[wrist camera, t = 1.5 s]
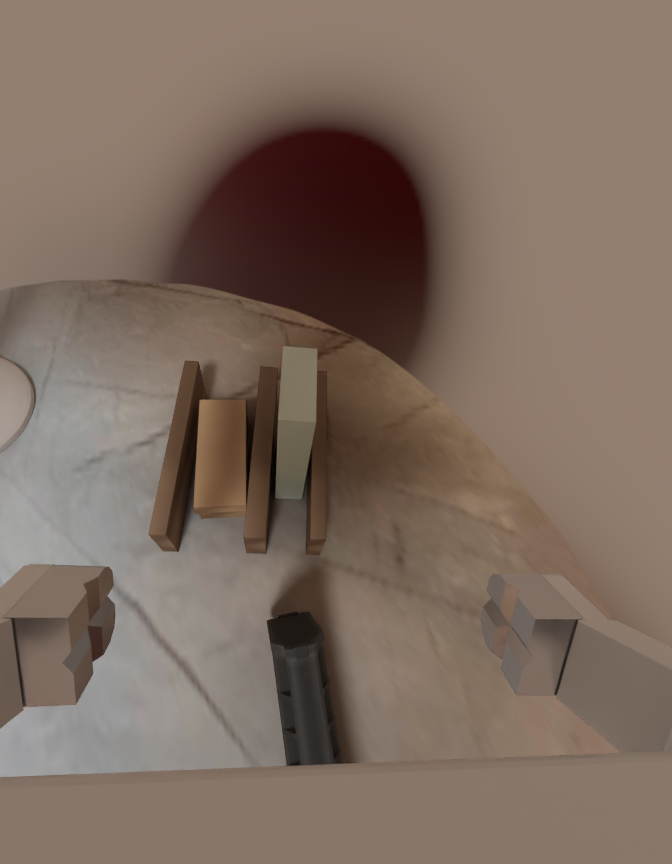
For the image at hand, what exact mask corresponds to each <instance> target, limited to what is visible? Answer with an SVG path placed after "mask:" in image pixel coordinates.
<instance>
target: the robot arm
mask: <svg viewBox="0 0 672 864" xmlns="http://www.w3.org/2000/svg"><path fill="white" fill-rule="evenodd" d="M113 586H114V583H113V573H112V570H111V569H110V568H109V567H103V566H76V565H49V564H30V565H26V566H23V567H22V568H21V569H20V570H19V571H18V572H17V573H16V574H15V575H14V576H13V577H12V578H11V579H10V580H8V581H7V582H6V583H5V584H4V585H3V586H2V587H1V588H0V728H1V727H3V726H4V725H5V724H6V723H8V722H9V721H10V720H11V719H13V718H14V717H15V716H16V715H18V714H19V713H20V712H21V711H23V707H37V706H58V705H76V704H77V702H78V700H79V698H80V697H81V695H82V693H83V691H84V689H85V687H86V686H87V684H88V682H89V680H90V678H91V677H92V675H93V665H92V662H94V661H95V660H96V659H98V658H99V657H101V656H102V655H104V653H105V651H106V649H107V647H108V645H109V643H110V640H111V636H112V633H113V630H114V624H115V604H114V603H113V602H112V601H111V600H110V599H109V597H108V596H107V595H108V594H109V592H110V591H111V589H112V587H113ZM487 592H488V593H489V595H490V597H491V599H490V600H489V601H488V602H487V603H486V604H485V605H484V606H483V610H482V616H481V627H482V634H483V637H484V640H485V643H486V645H487V647H488V648H489V650H490V652H491V653H493V654H494V655H496V656H497V657H498V658H500V659H501V660H502V664H501V668H500V669H501V671H502V672H503V674H504V676H505V677H506V679H507V681H508V682H509V684H510V686H511V687H512V689H513V691H514V693H515V694H516V696H557V697H556V699H558V700H559V701H560V702H561V703H563V704H564V705H565V706H566V707H567V708H569V709H570V710H571V711H572V712H573V713H575V714H576V715H577V716H578V717H579V718H581V719H582V720H583V721H584V722H585V723H587V724H588V725H589V726H590V727H591V728H593V729H594V730H595V731H596V732H597V733H599V734H600V735H601V736H602V737H603V738H605V739H606V740H607V741H608V742H610V743H611V744H612V745H613V746H614V747H616V748H617V749H618V750H619V751H620V752H622V753H609V754H586V755H560V756H532V757H505V758H478V759H451V760H423V761H398V762H373V763H348V764H323V765H298V766H274V767H249V768H224V769H199V770H173V771H148V772H122V773H97V774H71V775H46V776H21V777H0V864H672V648H671V647H669V646H667V645H665V644H663V643H661V642H659V641H657V640H654V639H652V638H650V637H648V636H646V635H644V634H642V633H640V632H638V631H636V630H634V629H632V628H630V627H628V626H626V625H624V624H622V623H620V622H618V621H616V620H608V619H607V618H606V617H605V616H604V615H603V614H601V613H600V612H599V611H598V610H597V609H596V608H595V607H594V606H593V605H592V604H591V603H590V602H589V601H588V600H587V599H586V598H585V597H584V596H583V595H582V594H581V593H580V592H579V591H578V590H577V589H576V588H575V587H573V586H572V585H571V584H570V583H569V582H568V581H567V580H566V579H565V578H564V577H563V576H562V575H559V574H557V573H535V574H492V576H491V577H490V579H489V581H488V586H487Z"/></svg>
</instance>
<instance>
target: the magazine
mask: <svg viewBox="0 0 672 864" xmlns="http://www.w3.org/2000/svg"><path fill="white" fill-rule="evenodd" d="M267 626H268V632H269V638H270V644H271V650H272V654H273V662H274V669H275V677H276V685H277V693H278V701H279V709H280V716H281V724H282V732H283V740H284V748H285V755H286V763H287V766H298V765H323V764H342V760H341V751H340V748H339V742H338V736H337V730H336V724H335V715H334V712H333V706H332V700H331V694H330V687H329V679H328V675H327V668H326V662H325V656H324V649H323V643H322V641H323V632H322V629H321V628H320V627H319V625H318V624H317V622H316V621H315V620H314V618H313V617H312V615H311V614H310V613H309V612H302V613H298V612H293V613H288V614H284V615H279V616H278V618H275V619H270V620H268V621H267Z"/></svg>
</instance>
